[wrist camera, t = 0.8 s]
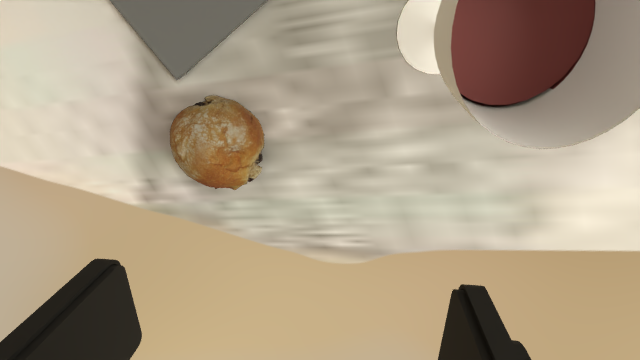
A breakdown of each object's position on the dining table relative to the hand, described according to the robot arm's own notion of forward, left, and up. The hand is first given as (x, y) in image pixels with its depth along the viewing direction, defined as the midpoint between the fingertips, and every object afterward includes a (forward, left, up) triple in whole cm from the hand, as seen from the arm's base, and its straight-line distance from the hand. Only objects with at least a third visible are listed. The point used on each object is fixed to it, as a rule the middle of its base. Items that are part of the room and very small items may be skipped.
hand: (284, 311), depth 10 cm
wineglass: (-12, 0, -30) cm, 33 cm away
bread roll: (+13, -4, -30) cm, 33 cm away
